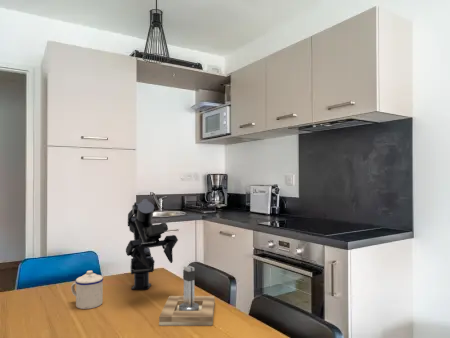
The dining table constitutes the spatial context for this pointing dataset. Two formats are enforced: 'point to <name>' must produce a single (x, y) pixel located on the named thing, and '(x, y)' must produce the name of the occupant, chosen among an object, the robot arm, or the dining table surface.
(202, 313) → the square wooden tray
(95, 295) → the teacup with lid
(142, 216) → the robot arm
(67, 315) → the dining table surface
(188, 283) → the round base pedestal
